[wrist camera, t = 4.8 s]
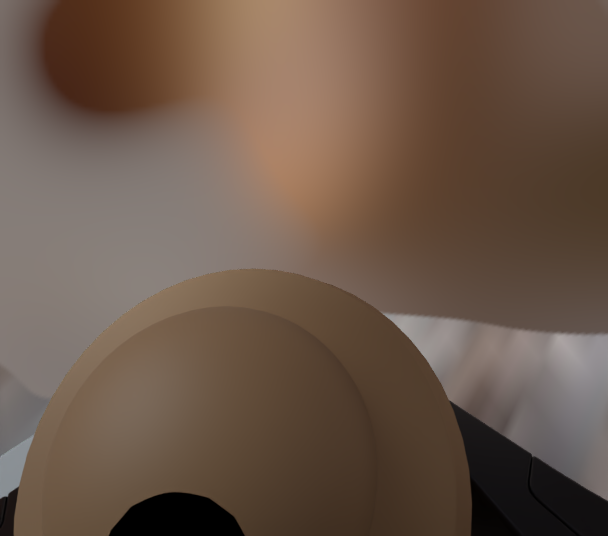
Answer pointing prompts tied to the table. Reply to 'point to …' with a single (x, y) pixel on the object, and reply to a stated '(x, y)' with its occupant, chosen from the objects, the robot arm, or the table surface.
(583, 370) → the table surface
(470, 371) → the table surface
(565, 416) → the table surface
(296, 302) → the pepper mill
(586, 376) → the table surface
